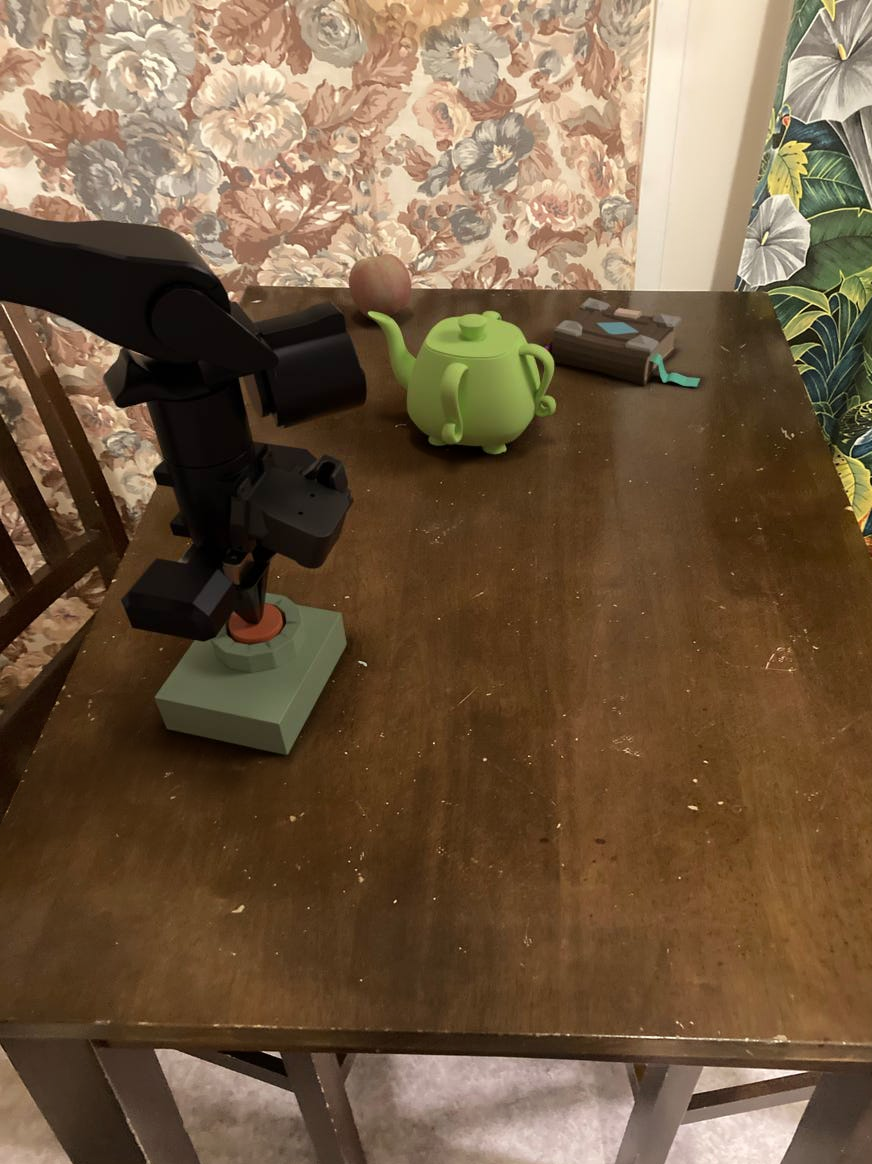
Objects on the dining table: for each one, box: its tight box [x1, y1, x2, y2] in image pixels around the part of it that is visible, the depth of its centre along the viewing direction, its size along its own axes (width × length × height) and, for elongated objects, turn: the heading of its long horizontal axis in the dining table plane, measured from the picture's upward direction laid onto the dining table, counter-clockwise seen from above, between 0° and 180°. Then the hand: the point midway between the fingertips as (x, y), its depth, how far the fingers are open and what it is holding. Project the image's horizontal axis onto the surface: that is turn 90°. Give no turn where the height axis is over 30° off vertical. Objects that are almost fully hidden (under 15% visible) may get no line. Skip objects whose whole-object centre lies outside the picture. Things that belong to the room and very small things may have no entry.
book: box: [543, 297, 701, 388], centre depth 107 cm, size 20×12×5 cm, turn 60°
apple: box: [348, 253, 412, 321], centre depth 115 cm, size 8×8×8 cm
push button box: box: [153, 592, 347, 756], centre depth 69 cm, size 12×10×6 cm
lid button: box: [229, 604, 284, 645], centre depth 69 cm, size 4×4×2 cm
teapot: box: [368, 310, 557, 455], centre depth 93 cm, size 16×14×13 cm
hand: (254, 620), depth 68 cm, fingers closed, pressing on lid button
